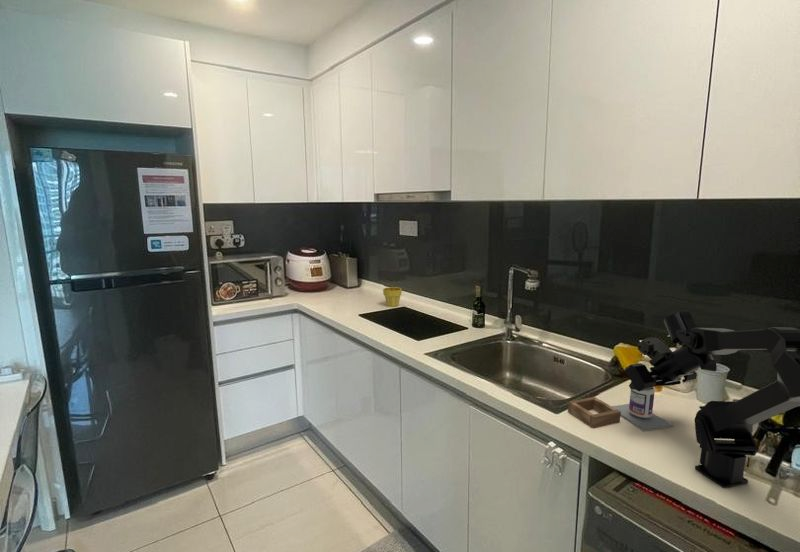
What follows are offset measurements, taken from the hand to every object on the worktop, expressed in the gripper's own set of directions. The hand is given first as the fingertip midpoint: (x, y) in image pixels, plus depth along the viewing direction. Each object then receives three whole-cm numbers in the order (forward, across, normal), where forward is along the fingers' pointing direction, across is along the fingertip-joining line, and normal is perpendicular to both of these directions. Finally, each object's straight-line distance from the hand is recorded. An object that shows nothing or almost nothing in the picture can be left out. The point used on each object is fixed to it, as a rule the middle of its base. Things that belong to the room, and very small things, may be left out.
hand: (638, 385), depth 108 cm
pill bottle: (+4, 0, +6) cm, 7 cm away
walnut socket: (+8, +12, +4) cm, 15 cm away
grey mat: (+5, 0, +7) cm, 8 cm away
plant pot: (+102, +24, -92) cm, 140 cm away
